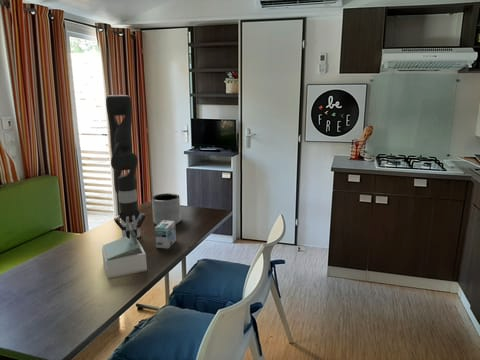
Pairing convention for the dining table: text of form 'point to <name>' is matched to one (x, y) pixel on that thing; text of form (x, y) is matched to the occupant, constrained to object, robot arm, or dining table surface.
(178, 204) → the planter
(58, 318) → the dining table surface
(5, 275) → the dining table surface
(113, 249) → the door
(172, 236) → the light bulb box
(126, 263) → the cabinet
